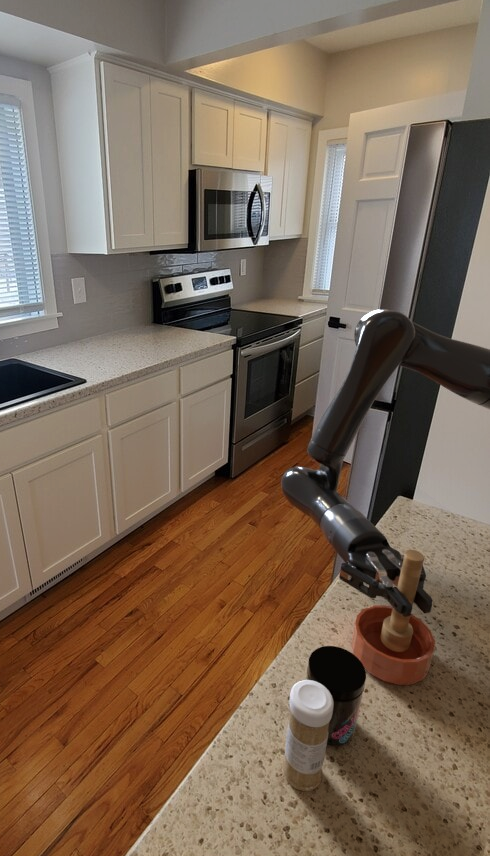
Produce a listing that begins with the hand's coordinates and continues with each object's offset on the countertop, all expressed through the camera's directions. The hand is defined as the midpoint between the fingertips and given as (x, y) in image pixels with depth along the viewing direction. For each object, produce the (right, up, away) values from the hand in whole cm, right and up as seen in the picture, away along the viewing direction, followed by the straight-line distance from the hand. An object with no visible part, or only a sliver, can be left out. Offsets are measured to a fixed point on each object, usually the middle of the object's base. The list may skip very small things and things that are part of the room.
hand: (419, 609), depth 66 cm
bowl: (-1, -10, +7) cm, 12 cm away
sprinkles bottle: (-18, -17, -8) cm, 26 cm away
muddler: (0, -7, +6) cm, 9 cm away
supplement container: (-13, -14, -2) cm, 20 cm away
